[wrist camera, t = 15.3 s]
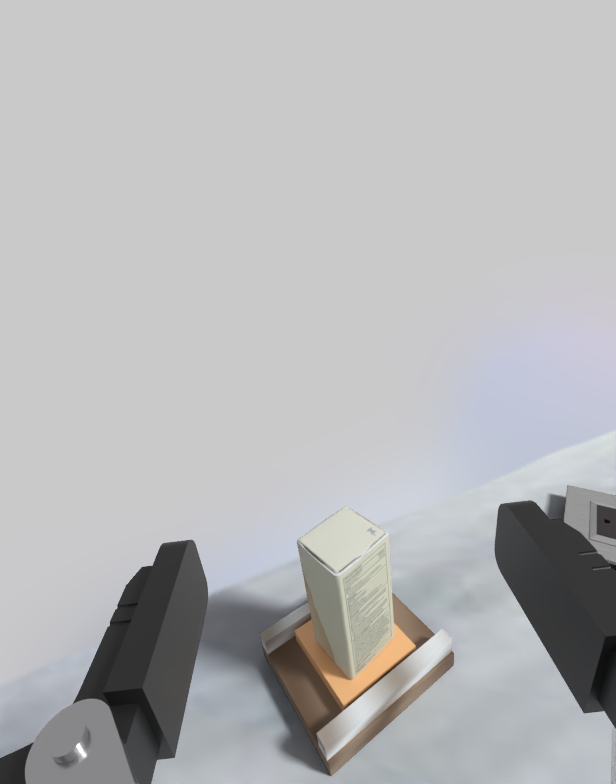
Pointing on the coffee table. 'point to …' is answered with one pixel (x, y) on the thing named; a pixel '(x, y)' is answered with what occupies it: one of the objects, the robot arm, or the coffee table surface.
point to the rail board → (376, 706)
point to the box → (348, 588)
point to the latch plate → (372, 674)
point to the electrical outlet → (593, 519)
